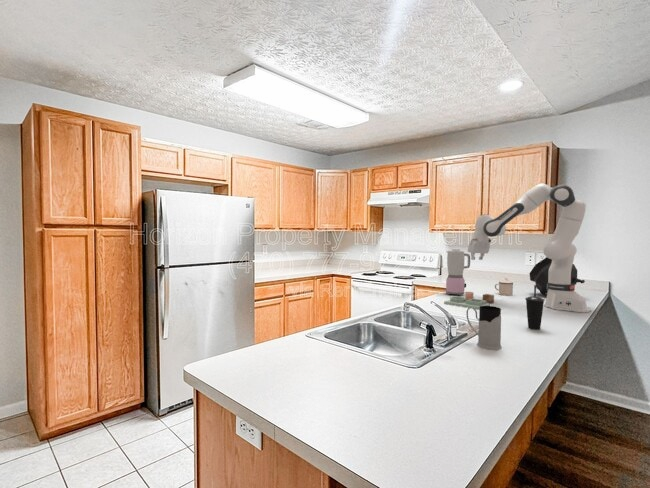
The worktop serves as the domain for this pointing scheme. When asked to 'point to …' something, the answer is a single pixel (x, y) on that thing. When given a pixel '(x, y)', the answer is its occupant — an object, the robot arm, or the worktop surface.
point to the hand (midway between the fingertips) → (476, 259)
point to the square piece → (488, 298)
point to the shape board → (466, 302)
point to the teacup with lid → (505, 287)
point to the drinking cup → (534, 310)
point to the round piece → (468, 295)
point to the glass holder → (488, 327)
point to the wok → (541, 275)
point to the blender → (456, 272)
